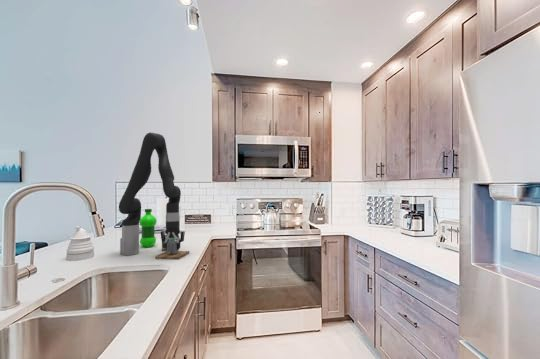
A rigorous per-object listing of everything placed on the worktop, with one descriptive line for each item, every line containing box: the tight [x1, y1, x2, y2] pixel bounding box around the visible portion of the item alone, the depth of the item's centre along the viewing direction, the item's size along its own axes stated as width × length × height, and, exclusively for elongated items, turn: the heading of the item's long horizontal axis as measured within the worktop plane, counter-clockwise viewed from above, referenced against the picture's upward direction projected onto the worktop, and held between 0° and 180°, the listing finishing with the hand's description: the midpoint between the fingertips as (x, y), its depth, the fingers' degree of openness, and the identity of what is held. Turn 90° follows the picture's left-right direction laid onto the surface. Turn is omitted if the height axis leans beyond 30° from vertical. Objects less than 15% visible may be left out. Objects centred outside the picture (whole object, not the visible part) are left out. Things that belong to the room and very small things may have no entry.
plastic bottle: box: [139, 208, 158, 248], centre depth 181 cm, size 10×10×25 cm
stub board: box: [154, 250, 190, 261], centre depth 156 cm, size 14×14×5 cm
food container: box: [161, 233, 176, 252], centre depth 173 cm, size 12×6×10 cm, turn 168°
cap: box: [167, 240, 180, 252], centre depth 156 cm, size 6×6×5 cm
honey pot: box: [65, 225, 95, 262], centre depth 153 cm, size 13×13×18 cm
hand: (172, 249), depth 156 cm, fingers closed on cap, 6 cm apart
